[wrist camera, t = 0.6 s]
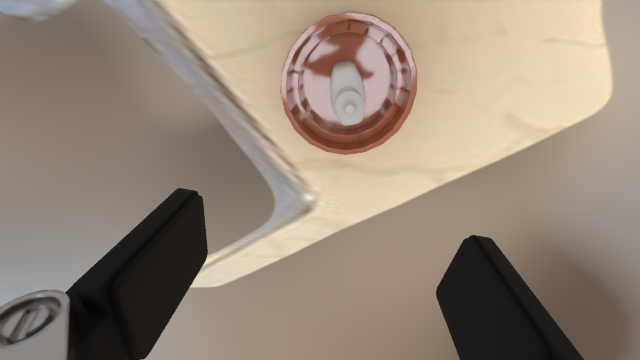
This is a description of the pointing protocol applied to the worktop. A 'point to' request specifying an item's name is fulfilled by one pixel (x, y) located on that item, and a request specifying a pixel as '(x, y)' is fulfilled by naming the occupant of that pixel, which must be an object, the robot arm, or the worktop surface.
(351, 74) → the eye dropper bottle
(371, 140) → the bowl
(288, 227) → the worktop surface
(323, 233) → the worktop surface
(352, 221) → the worktop surface
